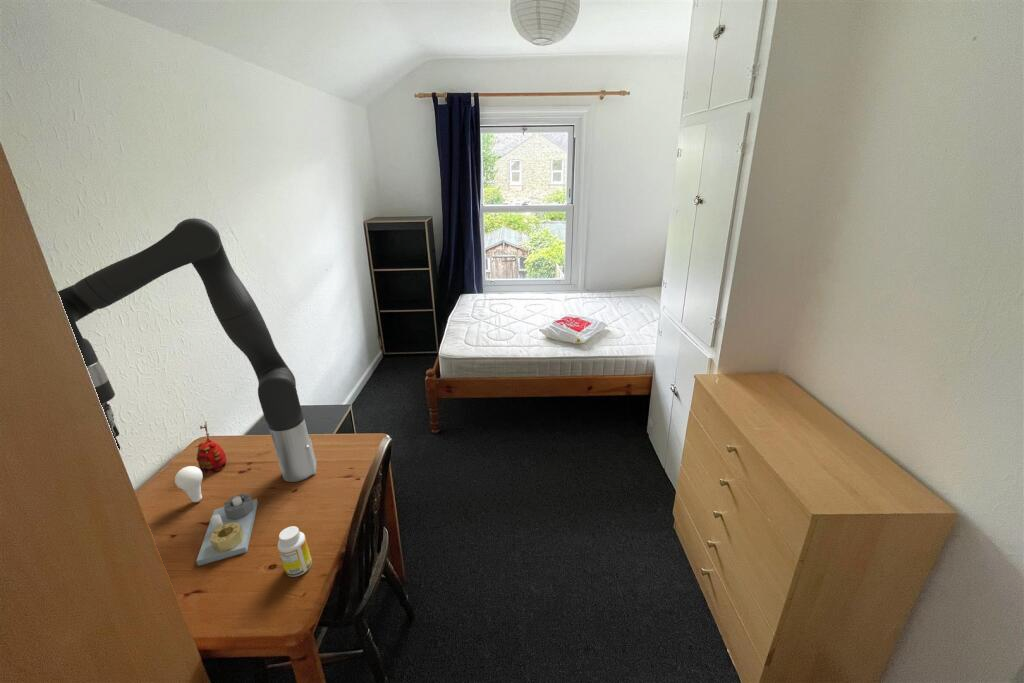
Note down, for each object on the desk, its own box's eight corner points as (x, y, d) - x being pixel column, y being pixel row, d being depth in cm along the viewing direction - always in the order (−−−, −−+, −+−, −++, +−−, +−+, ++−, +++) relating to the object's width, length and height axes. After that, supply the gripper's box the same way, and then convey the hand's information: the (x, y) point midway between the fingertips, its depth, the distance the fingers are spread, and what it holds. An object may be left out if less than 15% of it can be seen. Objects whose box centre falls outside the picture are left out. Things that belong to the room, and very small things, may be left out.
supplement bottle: (305, 553, 104) (295, 519, 100) (316, 565, 100) (307, 530, 97) (281, 569, 100) (270, 534, 96) (292, 582, 96) (281, 546, 93)
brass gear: (245, 529, 110) (242, 519, 109) (240, 546, 104) (237, 537, 103) (217, 536, 108) (214, 527, 107) (211, 555, 103) (207, 545, 101)
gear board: (257, 503, 121) (252, 486, 119) (246, 551, 105) (240, 534, 103) (215, 514, 117) (209, 497, 115) (198, 565, 102) (190, 547, 100)
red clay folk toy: (195, 475, 134) (179, 432, 128) (210, 460, 140) (196, 419, 135) (219, 474, 133) (205, 431, 128) (234, 460, 140) (220, 419, 135)
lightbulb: (182, 512, 119) (169, 478, 115) (186, 498, 124) (173, 466, 120) (209, 504, 121) (197, 470, 117) (211, 491, 126) (200, 458, 122)
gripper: (108, 387, 97) (136, 448, 103) (107, 369, 108) (132, 426, 113) (62, 399, 93) (93, 463, 99) (65, 379, 103) (94, 438, 109)
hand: (114, 443), depth 106 cm, fingers open, 8 cm apart
